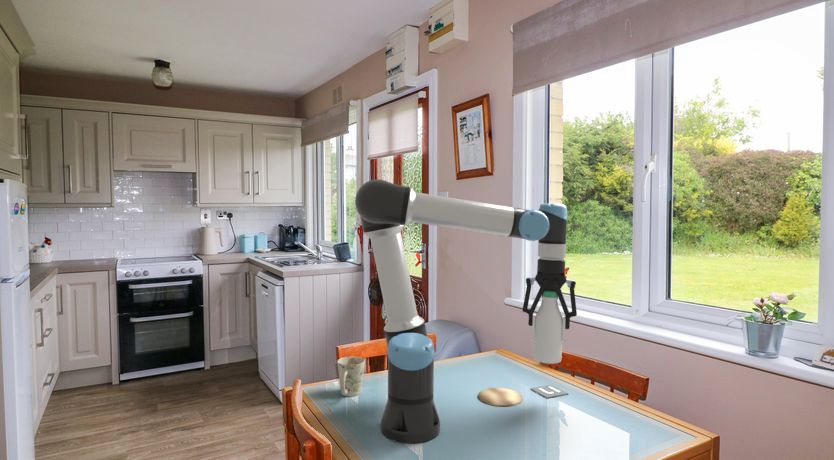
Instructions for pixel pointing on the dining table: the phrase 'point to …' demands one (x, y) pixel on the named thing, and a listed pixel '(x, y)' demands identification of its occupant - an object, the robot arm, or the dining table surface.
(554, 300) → the milk bottle
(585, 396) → the dining table surface
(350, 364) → the mug
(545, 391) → the tile
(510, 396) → the round flatbread
